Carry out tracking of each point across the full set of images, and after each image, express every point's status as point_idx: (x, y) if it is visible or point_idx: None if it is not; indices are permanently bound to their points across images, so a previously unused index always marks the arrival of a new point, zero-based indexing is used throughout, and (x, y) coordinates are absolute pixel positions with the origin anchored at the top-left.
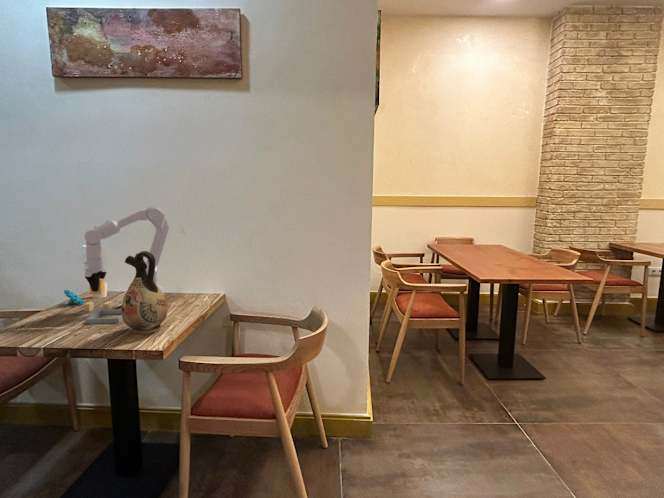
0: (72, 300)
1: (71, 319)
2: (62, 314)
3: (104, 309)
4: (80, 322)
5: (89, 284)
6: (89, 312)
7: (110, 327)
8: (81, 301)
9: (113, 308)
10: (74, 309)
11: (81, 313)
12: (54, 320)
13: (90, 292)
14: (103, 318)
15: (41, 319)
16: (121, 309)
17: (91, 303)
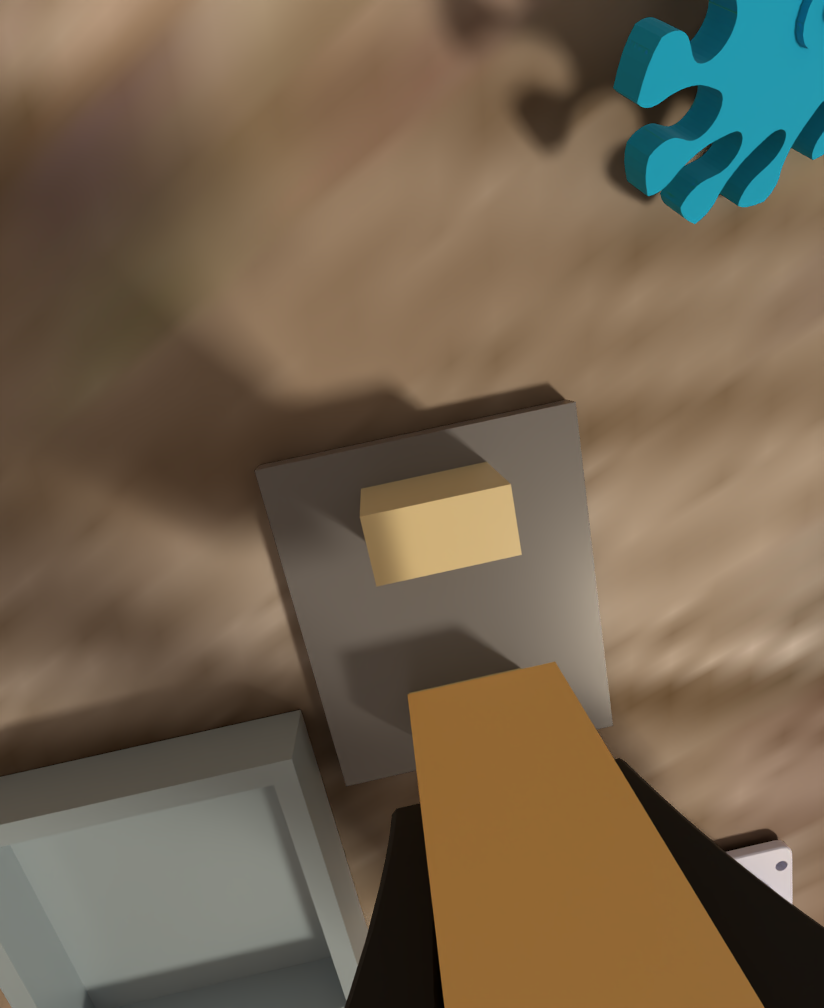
0: (624, 94)
1: (116, 487)
2: (284, 198)
3: None
4: (47, 662)
5: (437, 907)
6: (338, 572)
7: (2, 994)
8: (785, 137)
9: None
10: (531, 201)
11: (284, 503)
12: (21, 292)
13: (415, 732)
14: (9, 980)
15: (2, 41)
16: (351, 950)
17: (456, 566)
